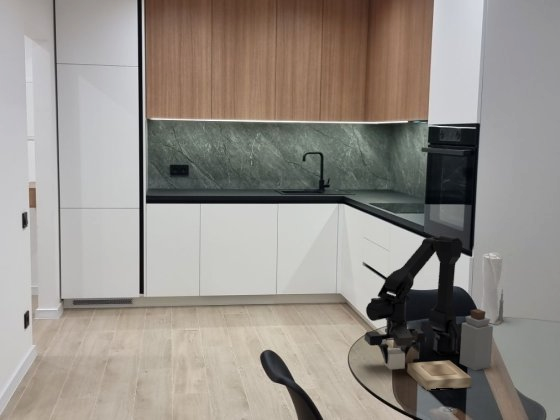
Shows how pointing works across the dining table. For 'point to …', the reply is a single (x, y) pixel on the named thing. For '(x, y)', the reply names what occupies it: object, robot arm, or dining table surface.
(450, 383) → the oak base
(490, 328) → the perfume bottle
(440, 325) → the robot arm
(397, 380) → the dining table surface
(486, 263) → the skyscraper
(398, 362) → the cream cube
